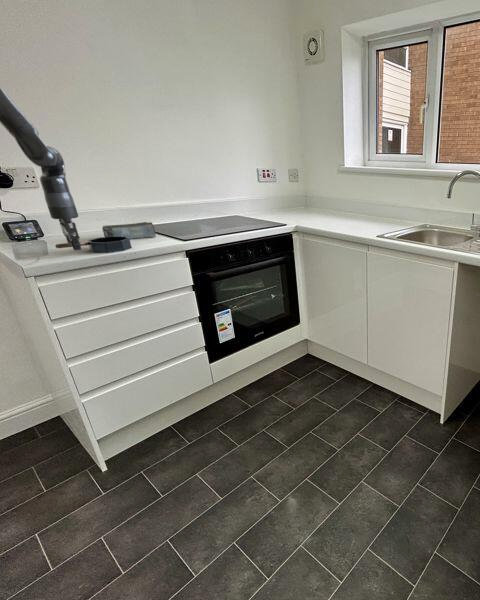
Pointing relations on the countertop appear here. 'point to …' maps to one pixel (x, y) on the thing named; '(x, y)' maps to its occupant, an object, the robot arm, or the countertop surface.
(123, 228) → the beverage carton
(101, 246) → the black frying pan
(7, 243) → the countertop surface
